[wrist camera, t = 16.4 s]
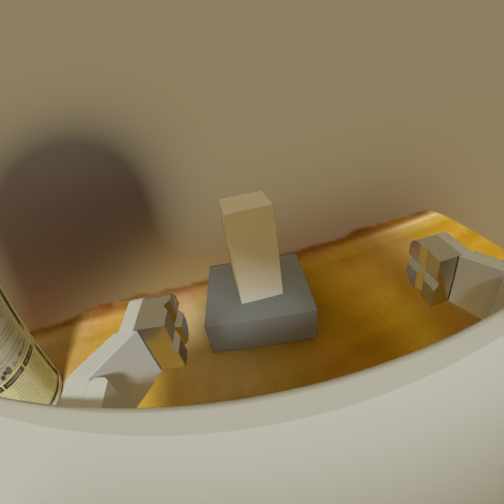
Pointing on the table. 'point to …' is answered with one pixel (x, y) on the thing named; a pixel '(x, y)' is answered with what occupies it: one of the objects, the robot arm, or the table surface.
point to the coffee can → (24, 361)
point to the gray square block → (259, 310)
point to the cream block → (252, 245)
